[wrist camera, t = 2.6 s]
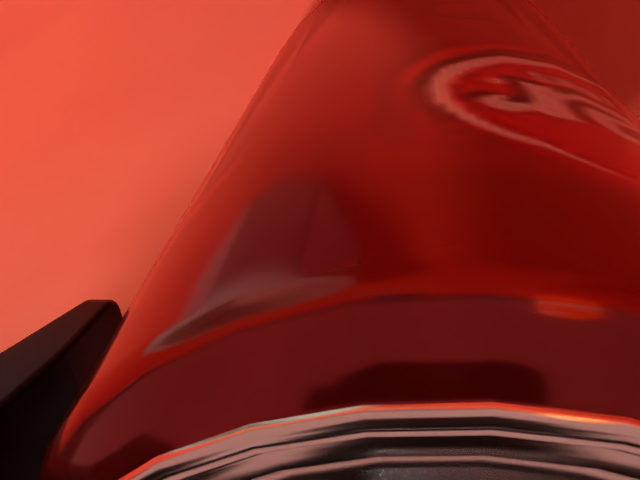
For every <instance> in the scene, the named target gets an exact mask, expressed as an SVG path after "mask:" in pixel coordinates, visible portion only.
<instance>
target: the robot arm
mask: <svg viewBox="0 0 640 480" xmlns="http://www.w3.org/2000/svg"><path fill="white" fill-rule="evenodd" d="M122 318H123V317H122V314H121V311H120V308H119V306H118V304H117V303H116V302H115V301H113V300H87V301H85V302H83V303H81V304H80V305H78V306H77V307H75V308H73V309H72V310H70V311H68V312H67V313H65V314H64V315H62V316H60V317H59V318H57V319H55V320H54V321H52V322H51V323H49V324H47V325H46V326H44V327H42V328H41V329H39V330H38V331H36V332H34V333H33V334H31V335H29V336H28V337H26V338H25V339H23V340H21V341H20V342H18V343H17V344H15V345H13V346H12V347H10V348H8V349H7V350H5V351H4V352H2V353H0V480H36V479H37V476H38V473H39V470H40V467H41V464H42V461H43V458H44V455H45V452H46V449H47V446H48V444H49V442H50V440H51V439H52V437H53V435H54V434H55V432H56V430H57V429H58V427H59V425H60V423H61V422H62V420H63V418H64V417H65V415H66V413H67V412H68V410H69V408H70V406H71V405H72V403H73V401H74V400H75V398H76V396H77V395H78V393H79V391H80V390H81V388H82V386H83V384H84V383H85V381H86V379H87V378H88V376H89V374H90V373H91V371H92V369H93V368H94V366H95V364H96V362H97V361H98V359H99V357H100V356H101V354H102V352H103V351H104V349H105V347H106V345H107V344H108V342H109V340H110V339H111V337H112V335H113V334H114V332H115V330H116V329H117V327H118V325H119V323H120V322H121V320H122Z"/></svg>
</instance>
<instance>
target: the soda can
mask: <svg viewBox="0 0 640 480" xmlns="http://www.w3.org/2000/svg"><path fill="white" fill-rule="evenodd" d="M36 480H640V121H639V120H638V119H637V118H636V117H635V116H634V114H633V113H632V112H631V111H630V110H629V109H628V108H627V107H626V106H625V104H624V103H623V102H622V101H621V100H620V99H619V98H618V97H617V96H616V94H615V93H614V92H613V91H612V90H611V89H610V88H609V87H608V86H607V84H606V83H605V82H604V81H603V80H602V79H601V78H600V77H599V76H598V74H597V73H596V72H595V71H594V70H593V69H592V68H591V67H590V65H589V64H588V63H587V62H586V61H585V60H584V59H583V58H582V57H581V55H580V54H579V53H578V52H577V51H576V50H575V49H574V48H573V47H572V45H571V44H570V43H569V42H568V41H567V40H566V39H565V38H564V37H563V35H562V34H561V33H560V32H559V31H558V30H557V29H556V28H555V27H554V25H553V24H552V23H551V22H550V21H549V20H548V19H547V18H546V17H545V16H544V15H543V14H542V13H541V12H540V11H538V10H537V9H536V8H535V7H534V6H533V5H532V4H531V3H530V2H528V1H527V0H325V1H324V2H322V3H321V4H320V5H319V6H318V7H317V8H316V9H315V10H314V11H313V12H312V13H311V14H310V15H309V16H308V17H307V18H305V19H304V20H303V21H302V22H301V23H300V24H299V25H298V26H297V28H296V29H295V31H294V32H293V34H292V35H291V36H290V38H289V39H288V41H287V42H286V44H285V45H284V46H283V48H282V49H281V51H280V52H279V54H278V56H277V57H276V59H275V61H274V62H273V64H272V66H271V67H270V69H269V71H268V73H267V74H266V76H265V78H264V79H263V81H262V83H261V84H260V86H259V88H258V90H257V91H256V93H255V95H254V96H253V98H252V100H251V101H250V103H249V105H248V106H247V108H246V110H245V112H244V113H243V115H242V117H241V118H240V120H239V122H238V123H237V125H236V127H235V129H234V130H233V132H232V134H231V135H230V137H229V139H228V140H227V142H226V144H225V145H224V147H223V149H222V151H221V152H220V154H219V156H218V157H217V159H216V161H215V162H214V164H213V166H212V167H211V169H210V171H209V173H208V174H207V176H206V178H205V179H204V181H203V183H202V184H201V186H200V188H199V190H198V191H197V193H196V195H195V196H194V198H193V200H192V201H191V203H190V205H189V206H188V208H187V210H186V212H185V213H184V215H183V217H182V218H181V220H180V222H179V223H178V225H177V227H176V229H175V230H174V232H173V234H172V235H171V237H170V239H169V240H168V242H167V244H166V245H165V247H164V249H163V251H162V252H161V254H160V256H159V257H158V259H157V261H156V262H155V264H154V266H153V268H152V269H151V271H150V273H149V274H148V276H147V278H146V279H145V281H144V283H143V284H142V286H141V288H140V290H139V291H138V293H137V295H136V296H135V298H134V300H133V301H132V303H131V305H130V306H129V308H128V310H127V312H126V313H125V315H124V317H123V318H122V320H121V322H120V323H119V325H118V327H117V329H116V330H115V332H114V334H113V335H112V337H111V339H110V340H109V342H108V344H107V345H106V347H105V349H104V351H103V352H102V354H101V356H100V357H99V359H98V361H97V362H96V364H95V366H94V368H93V369H92V371H91V373H90V374H89V376H88V378H87V379H86V381H85V383H84V384H83V386H82V388H81V390H80V391H79V393H78V395H77V396H76V398H75V400H74V401H73V403H72V405H71V406H70V408H69V410H68V412H67V413H66V415H65V417H64V418H63V420H62V422H61V423H60V425H59V427H58V429H57V430H56V432H55V434H54V435H53V437H52V439H51V440H50V442H49V444H48V446H47V449H46V452H45V455H44V458H43V461H42V464H41V467H40V470H39V473H38V476H37V479H36Z"/></svg>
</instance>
